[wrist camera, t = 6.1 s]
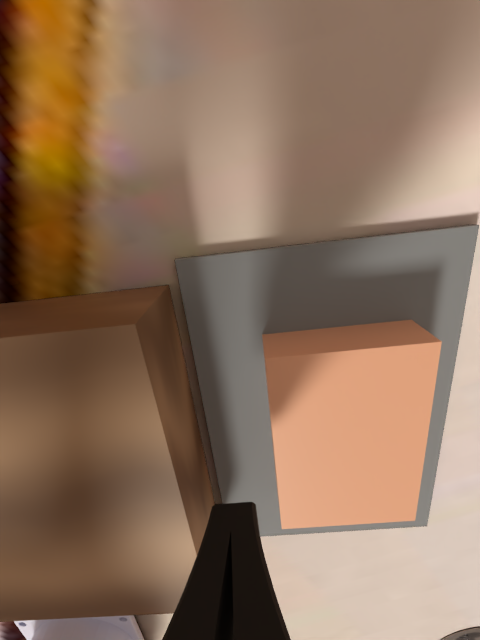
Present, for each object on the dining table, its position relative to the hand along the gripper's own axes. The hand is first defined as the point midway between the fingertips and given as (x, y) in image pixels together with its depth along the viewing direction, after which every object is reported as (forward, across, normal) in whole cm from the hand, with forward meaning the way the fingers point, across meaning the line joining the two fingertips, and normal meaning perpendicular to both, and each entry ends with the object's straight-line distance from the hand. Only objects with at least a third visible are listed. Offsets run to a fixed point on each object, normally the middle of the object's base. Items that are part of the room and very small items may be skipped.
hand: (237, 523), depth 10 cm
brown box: (+5, +8, 0) cm, 9 cm away
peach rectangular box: (+3, -4, 0) cm, 5 cm away
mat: (+5, -4, 0) cm, 6 cm away
